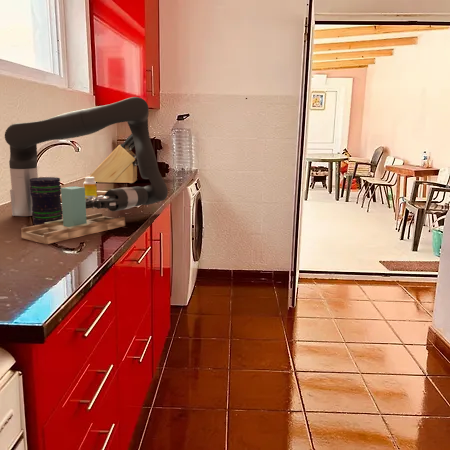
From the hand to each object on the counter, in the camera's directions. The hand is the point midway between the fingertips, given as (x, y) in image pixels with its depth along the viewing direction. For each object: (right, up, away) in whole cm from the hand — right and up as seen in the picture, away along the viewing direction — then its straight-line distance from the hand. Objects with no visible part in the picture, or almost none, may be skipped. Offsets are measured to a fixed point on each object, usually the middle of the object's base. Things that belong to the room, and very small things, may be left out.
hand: (80, 205), depth 146 cm
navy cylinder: (-16, -5, +14) cm, 21 cm away
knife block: (-15, +18, +121) cm, 124 cm away
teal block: (-1, -6, -1) cm, 7 cm away
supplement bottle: (-14, +5, +59) cm, 61 cm away
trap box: (-1, -8, 0) cm, 8 cm away
